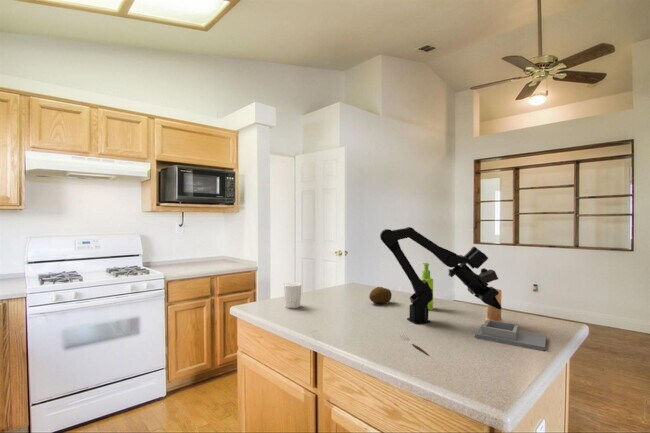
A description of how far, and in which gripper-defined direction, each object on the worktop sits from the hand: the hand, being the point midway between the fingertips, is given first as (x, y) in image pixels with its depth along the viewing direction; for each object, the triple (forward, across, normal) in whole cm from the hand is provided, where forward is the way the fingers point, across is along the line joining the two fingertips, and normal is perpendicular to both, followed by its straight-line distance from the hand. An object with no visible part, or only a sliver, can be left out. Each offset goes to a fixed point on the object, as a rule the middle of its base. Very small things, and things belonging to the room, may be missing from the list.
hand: (498, 306), depth 132 cm
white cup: (-54, +15, +63) cm, 84 cm away
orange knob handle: (+4, 0, +6) cm, 7 cm away
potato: (-26, +26, +35) cm, 51 cm away
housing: (+3, -15, +6) cm, 17 cm away
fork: (-20, -26, +30) cm, 44 cm away
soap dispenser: (-12, +20, +21) cm, 31 cm away
